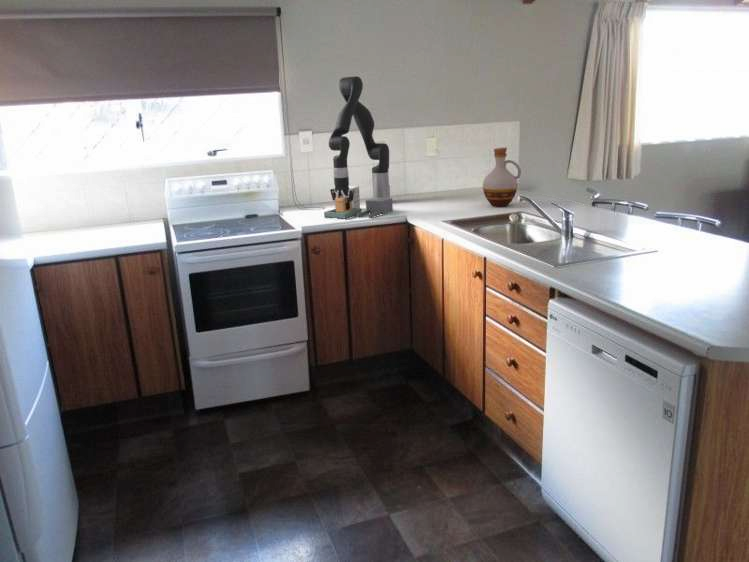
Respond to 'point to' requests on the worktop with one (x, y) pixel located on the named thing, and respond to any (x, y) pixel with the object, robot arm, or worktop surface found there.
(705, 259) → the worktop surface
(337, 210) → the toner caddy
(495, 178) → the jug
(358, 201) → the supplement box
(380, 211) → the printer bay
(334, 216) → the tray
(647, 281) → the worktop surface
